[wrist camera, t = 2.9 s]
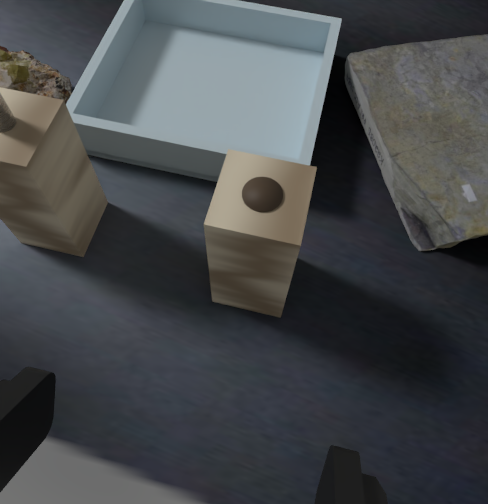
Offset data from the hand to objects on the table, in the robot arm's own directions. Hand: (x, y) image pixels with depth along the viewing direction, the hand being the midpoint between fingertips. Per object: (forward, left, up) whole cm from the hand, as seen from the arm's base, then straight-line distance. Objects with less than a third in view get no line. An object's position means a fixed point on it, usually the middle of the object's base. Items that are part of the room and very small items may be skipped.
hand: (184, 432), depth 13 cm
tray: (-7, +27, -15) cm, 31 cm away
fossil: (+15, +27, -15) cm, 34 cm away
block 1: (-14, +13, -15) cm, 24 cm away
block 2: (0, +12, -15) cm, 19 cm away
